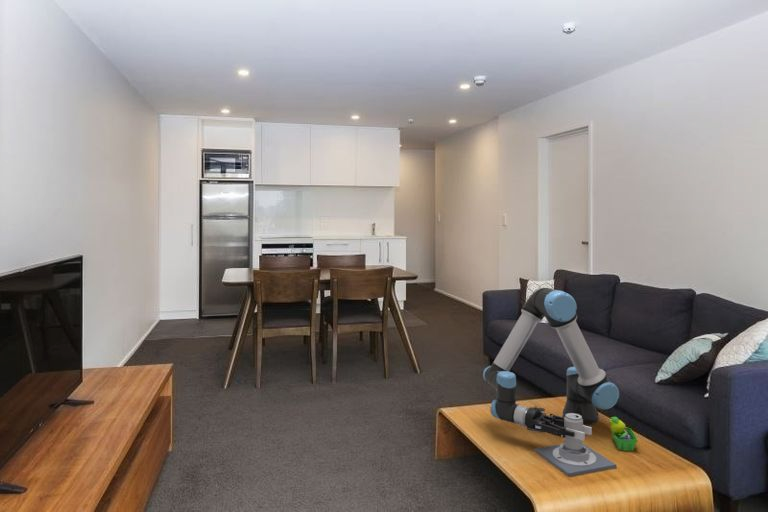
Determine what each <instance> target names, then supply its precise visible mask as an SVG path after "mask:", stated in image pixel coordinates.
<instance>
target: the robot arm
mask: <svg viewBox="0 0 768 512" xmlns="http://www.w3.org/2000/svg"><path fill="white" fill-rule="evenodd" d="M577 306H578V305H577V302H576V300H575V299H574V297H573V296H572V295H571V294H569V293H567V292H566V291H563V290H558V289H554V288H549V287H542V288H541V287H540V288H538V289H537V290H535V291H534V292H533V293H532V294H531V295H530V296H529V297H528V299H527V300H526V302H525V303H524V304H523V306H522V307H521V311H520V312H521V315H520V316H519V318H518V319H517V321H516V322H515V325H514V326H513V328H512V330H511V331H510V333H509V335H508V337H507V339H505V342H504V343H503V345H502V346H501V348H500V350H499V352H498V353H497V355H496V357H495V359H494V361H493V362H492V363H491V365H489V366H487V367H485V368H484V370H483V373H482V377H483V380H484V381H485V382H486V383H487V384H488V385H489V386H490V387H491V388H493V389H494V390H495V391H496V398H495V399H493V400H492V401H491V404H490V414H491V415H492V417H494V418H495V419H499V420H501V421H504V422H508V423H513V424H515V425H517V426H518V425H519V426H520V427H526V428H527V427H528V428H531V429H535V430H538V431H543V432H542V433H547V434H550V435H553V436H556V437H559V438H563V439H564V438H565V435H566V436H569V437H573V438H576V439H579V440H583V442H584V441H585V440H586V439H585V438H586V435H588V436H592V434H593V433H592V430H593V429H592V428H593V427H592V426H589V425H595V424H597V423H599V422H600V414H599V412H598V409H600V410H608V409H612V408H613V407H614V406H615V405H616V404H617V403H618V400H619V398H620V391H619V388H618V387H617V385H616V384H615V383H613V382H611V381H610V379H609V377H608V374H607V373H606V371H605V370H604V369H601V368H599V366H598V364H597V361H596V360H595V357H594V355H593V353H592V352H591V351H592V350H591V349H590V347H589V345H588V344H587V343H588V342H587V341H586V339H585V337H584V335H583V333H582V331H581V329H580V327H579V324H578V323H577V319H578V314H577V309H578V307H577ZM544 318H545V319H546V321H547V323H548V325H549V327H550V328H552V329H554V330H555V331H556V333H557V335H558V336H559V339H560V341H561V343H562V344H563V347H564V348H565V350H566V351H565V352H566V353H567V355H568V357H569V359H570V361H571V363H572V364H573V366H570V367H568V368H567V369H566V401H565V404H564V408H563V410H562V416H559V415H556V414H553V413H549V415H547V414H546V415H542V414H541V412H542V411H541V412H540V411H539V410H537V409H533V408H529V407H530V406H524V405H522V404H518V403H516V402H517V399H516V397H517V394H516V393H517V378H516V377H517V376H516V374H515V373H514V372H511V371H510V370H511V368H512V367H513V365H514V363H515V362H516V360H517V358H518V357H519V355H520V353H521V351H522V350H523V348H524V347H525V345H526V343H527V341H528V340H529V339H530V336H531V335H532V333H533V332H534V329H535V328H536V326H537V324H538V323H541V322H542V321H543V319H544ZM568 413H575V414H579V415H581V416H582V419H583V432H581V431H577V430H572V429H568V428H566V430H565V428H564V418H565V415H566V414H568ZM587 425H588V426H587Z"/></svg>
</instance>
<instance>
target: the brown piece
mask: <svg viewBox="0 0 768 512" xmlns="http://www.w3.org/2000/svg"><path fill="white" fill-rule="evenodd" d="M528 407H529V408H533V409H537V410H539V411H540V412H541V414H542V415H547V412H545V411H546V410H545V407H538V406H536V405H535V406H528ZM526 430H527V431H528V432H536V433H544V432H543V431H538V430H535V429H531V428H528V427H527V426H526Z"/></svg>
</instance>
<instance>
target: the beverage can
mask: <svg viewBox="0 0 768 512" xmlns="http://www.w3.org/2000/svg"><path fill="white" fill-rule="evenodd" d="M583 425H584V424H583V419H582V416H581V415H579V414H575V413H568V414H566V415H565V418H564V427H563V428H565V430H566V428H568V429H572V430H577V431H581V432H583ZM563 443H564V445H565V446H566V448H568V449H570V450H575V451H577V450H580V449H582V448H583V444H584V441H583V440H579V439H576V438H573V437H569V436H566V435H565V438H563Z"/></svg>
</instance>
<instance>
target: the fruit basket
mask: <svg viewBox="0 0 768 512" xmlns="http://www.w3.org/2000/svg"><path fill="white" fill-rule="evenodd" d="M609 424H610V425H609V428H610V430H611V433H612V437H613V441H614V443H615V445H616V447H617V449H618V450H619V451H627V452H630V451H631V452H634V451H635V450H634V449H635V447H636V443H637V441H638V438H637V436H636V434H635V433H634V431H633V429H632V428H630V427H627V426H626V424H625V422H623V421H622V420H621V419H619V418H618V417H617V416H611V417H610V419H609Z"/></svg>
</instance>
